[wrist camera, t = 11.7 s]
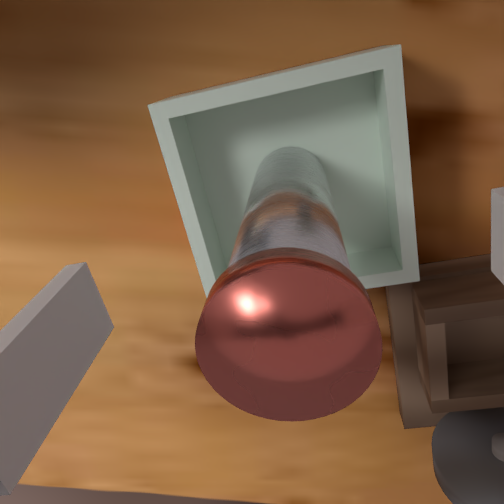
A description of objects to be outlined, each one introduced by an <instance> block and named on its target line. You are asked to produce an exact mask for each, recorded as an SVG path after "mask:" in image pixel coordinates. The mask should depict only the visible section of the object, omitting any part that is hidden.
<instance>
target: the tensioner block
mask: <svg viewBox="0 0 504 504" xmlns="http://www.w3.org/2000/svg"><path fill="white" fill-rule="evenodd" d="M419 276H420V281H417V282H410V283H403V284H396V285H389V286H385V289H386V297H387V306H388V314H389V323H390V331H391V340H392V349H393V357H394V366H395V374H396V383H397V391H398V400H399V409H400V415H401V418H402V422H403V425H404V429H409V428H420V427H431V426H436V427H435V430H434V432H433V436H432V453H433V465H434V471H435V475H436V478H437V481H438V483H439V485H440V487H441V488H442V490H443V492H444V493H445V495H446V496H447V497H448V499H449V500H450V501H451V502H452V503H453V504H504V285H503V284H502V283H501V281H500V280H499V279H498V278H497V277H496V276H495V275H494V273H493V272H492V271H491V254H486V255H480V256H473V257H467V258H460V259H454V260H447V261H440V262H434V263H427V264H421V265H419Z"/></svg>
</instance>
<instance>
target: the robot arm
mask: <svg viewBox="0 0 504 504" xmlns="http://www.w3.org/2000/svg"><path fill="white" fill-rule="evenodd" d="M491 271H492V272H493V273H494V275H495V276H496V277H497V278H498V279H499V280H500V281H501V283H502V284H503V285H504V187H500V188H494V189H491ZM113 328H114V326H113V323H112V321H111V319H110V317H109V314H108V312H107V310H106V307H105V305H104V303H103V300H102V298H101V296H100V293H99V291H98V289H97V286H96V284H95V282H94V279H93V277H92V275H91V273H90V270H89V268H88V266H87V263H86V262H83V263H77V264H71V265H66V266H65V267H64V268H63V269H62V270H61V271H60V272H59V273H58V274H57V275H56V276H55V277H54V278H53V279H52V280H51V281H50V282H49V283H48V284H47V285H46V286H45V287H44V288H43V289H42V290H41V291H40V292H39V293H38V294H37V295H36V296H35V297H34V298H33V299H32V300H31V301H30V302H29V303H28V304H27V305H26V306H25V307H24V308H23V309H22V310H21V311H20V312H19V313H18V314H17V315H16V316H15V317H14V318H13V319H12V320H11V321H10V322H9V323H8V324H7V325H6V326H5V327H4V328H3V329H2V330H1V331H0V496H1V495H10V494H11V493H12V491H13V490H14V488H15V486H16V485H17V483H18V481H19V480H20V478H21V477H22V475H23V473H24V472H25V470H26V469H27V467H28V465H29V464H30V462H31V460H32V459H33V457H34V456H35V454H36V452H37V451H38V449H39V448H40V446H41V444H42V443H43V441H44V439H45V438H46V436H47V435H48V433H49V431H50V430H51V428H52V427H53V425H54V423H55V422H56V420H57V419H58V417H59V415H60V414H61V412H62V410H63V409H64V407H65V406H66V404H67V402H68V401H69V399H70V398H71V396H72V394H73V393H74V391H75V389H76V388H77V386H78V385H79V383H80V381H81V380H82V378H83V377H84V375H85V373H86V372H87V370H88V368H89V367H90V365H91V364H92V362H93V360H94V359H95V357H96V356H97V354H98V352H99V351H100V349H101V347H102V346H103V344H104V343H105V341H106V339H107V338H108V336H109V335H110V333H111V331H112V330H113Z"/></svg>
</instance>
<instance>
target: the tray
mask: <svg viewBox="0 0 504 504" xmlns="http://www.w3.org/2000/svg"><path fill="white" fill-rule="evenodd" d="M148 109H149V112H150V115H151V118H152V122H153V125H154V128H155V131H156V135H157V138H158V141H159V144H160V148H161V151H162V154H163V157H164V161H165V164H166V167H167V170H168V174H169V177H170V180H171V183H172V187H173V190H174V193H175V196H176V200H177V203H178V206H179V210H180V213H181V216H182V219H183V223H184V226H185V229H186V232H187V236H188V239H189V242H190V245H191V249H192V252H193V255H194V258H195V262H196V265H197V268H198V271H199V275H200V278H201V281H202V284H203V288H204V291H205V294H206V297H208V294H209V292H210V290H211V288H212V286H213V285H214V283H215V281H216V280H217V279H218V278H219V276H220V275H221V274H222V273H223V272H224V271H225V270H226V269H227V268H228V265H229V262H230V258H231V255H232V252H233V248H234V245H235V242H236V238H237V235H238V232H239V228H240V225H241V222H242V218H243V215H244V212H245V208H246V205H247V202H248V198H249V195H250V192H251V188H252V185H253V182H254V178H255V175H256V171H257V169H258V167H259V165H260V163H261V162H262V160H263V159H264V158H265V157H266V156H267V155H268V154H270V153H271V152H273V151H274V150H277V149H279V148H282V147H291V146H293V147H300V148H303V149H306V150H308V151H309V152H311V153H313V154H314V155H315V156H316V157H317V158H318V159H319V160H320V162H321V163H322V165H323V167H324V170H325V173H326V177H327V181H328V185H329V189H330V192H331V196H332V200H333V204H334V208H335V212H336V215H337V219H338V223H339V227H340V231H341V234H342V238H343V242H344V246H345V250H346V254H347V257H348V261H349V265H350V269H351V272H352V273H353V274H355V275H356V276H357V278H358V279H359V280H360V282H361V283H362V284H363V286H364V287H365V289H369V288H376V287H382V286H389V285H396V284H403V283H410V282H417V281H420V276H419V264H418V251H417V239H416V226H415V214H414V201H413V189H412V176H411V164H410V151H409V139H408V126H407V114H406V101H405V89H404V76H403V64H402V51H401V44H400V45H383V46H379V47H375V48H371V49H367V50H363V51H359V52H354V53H350V54H346V55H342V56H338V57H334V58H329V59H325V60H321V61H317V62H313V63H309V64H304V65H300V66H296V67H292V68H288V69H284V70H280V71H275V72H271V73H267V74H263V75H259V76H255V77H250V78H246V79H242V80H238V81H234V82H230V83H226V84H221V85H217V86H213V87H209V88H205V89H201V90H196V91H192V92H188V93H184V94H180V95H176V96H172V97H168V98H165V99H163V100H160V101H157V102H155V103H152V104H149V105H148Z"/></svg>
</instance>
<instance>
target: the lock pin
mask: <svg viewBox="0 0 504 504" xmlns="http://www.w3.org/2000/svg"><path fill="white" fill-rule="evenodd" d="M195 349H196V356H197V360H198V364H199V366H200V368H201V371H202V373H203V374H204V376H205V378H206V379H207V381H208V382H209V384H210V385H211V386H212V387H213V389H214V390H215V391H216V392H217V393H218V394H219V395H220V396H222V397H223V398H224V399H225V400H227V401H228V402H229V403H231V404H233V405H234V406H236V407H237V408H239V409H241V410H243V411H246V412H248V413H250V414H253V415H256V416H259V417H263V418H267V419H272V420H279V421H305V420H311V419H316V418H320V417H324V416H327V415H330V414H332V413H335V412H337V411H339V410H341V409H343V408H345V407H346V406H348V405H349V404H351V403H352V402H354V401H355V400H356V399H357V398H359V397H360V396H361V395H362V394H363V393H364V392H365V391H366V389H367V388H368V387H369V386H370V384H371V383H372V381H373V380H374V378H375V376H376V374H377V372H378V369H379V366H380V362H381V358H382V337H381V333H380V329H379V325H378V322H377V319H376V316H375V312H374V309H373V306H372V303H371V300H370V297H369V295H368V293H367V291H366V289H365V287H364V286H363V284H362V283H361V282H360V280H359V279H358V278H357V276H356V275H355V274H353V273H352V272H351V269H350V265H349V261H348V257H347V254H346V250H345V246H344V242H343V238H342V234H341V231H340V227H339V223H338V219H337V215H336V212H335V208H334V204H333V200H332V196H331V192H330V189H329V185H328V181H327V177H326V173H325V170H324V167H323V165H322V163H321V162H320V160H319V159H318V158H317V157H316V156H315V155H314V154H313V153H311V152H309V151H308V150H306V149H303V148H300V147H293V146H291V147H282V148H279V149H277V150H274V151H273V152H271V153H270V154H268V155H267V156H266V157H265V158H264V159H263V160H262V162H261V163H260V165H259V167H258V169H257V171H256V175H255V178H254V182H253V185H252V188H251V192H250V195H249V198H248V202H247V205H246V208H245V212H244V215H243V218H242V222H241V225H240V228H239V232H238V235H237V238H236V242H235V245H234V248H233V252H232V255H231V258H230V262H229V265H228V268H227V269H226V270H225V271H224V272H223V273H222V274H221V275H220V276H219V278H218V279H217V280H216V281H215V283H214V285H213V286H212V288H211V290H210V292H209V294H208V297H207V299H206V302H205V305H204V308H203V311H202V314H201V317H200V320H199V323H198V326H197V330H196V336H195Z"/></svg>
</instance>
